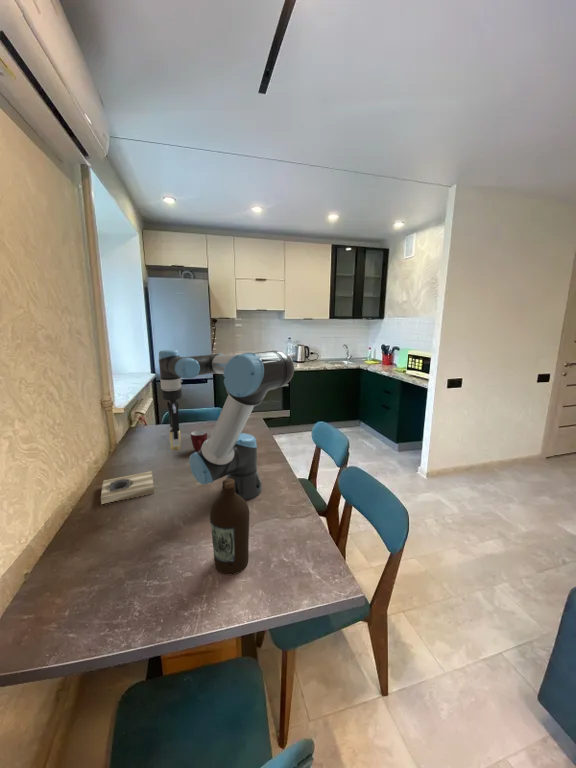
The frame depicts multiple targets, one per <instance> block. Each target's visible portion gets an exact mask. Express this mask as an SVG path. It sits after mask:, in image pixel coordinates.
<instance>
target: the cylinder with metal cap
mask: <svg viewBox="0 0 576 768" xmlns="http://www.w3.org/2000/svg"><path fill="white" fill-rule="evenodd" d="M171 430H172V429H171ZM168 433H169V443H170V450H171V451H174V452H175V451H179V450H181V449H182V443H181V441H182V440H181V430H180V428H179V441H180V446H175V447H173V444H172V432H170V430H169V432H168Z"/></svg>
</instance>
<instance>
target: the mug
mask: <svg viewBox="0 0 576 768" xmlns="http://www.w3.org/2000/svg"><path fill="white" fill-rule="evenodd" d="M190 438H191V439H190V441H191V444H192V447H193V450H194V452H198V451H200V449H201V447H202V444H203V443H204V441H206V440H207V439H208V431H207V430H204V429H201V430H200V429H199V430H198V429H196V430H194V431H191V433H190Z"/></svg>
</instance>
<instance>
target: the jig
mask: <svg viewBox="0 0 576 768" xmlns="http://www.w3.org/2000/svg"><path fill="white" fill-rule="evenodd" d="M153 493H154V494H155V485H154V478H153V471H147V472H146V471H145V472H140V473H135V474H131V475H125V476H120V477H115V478H110V479H104V480H103V481H102V486H101V494H100V502H101V503H100V505H102V504H104V503H109V502H114V501H118V502H120V501H119V500H123V501H125V500H124V499H127V500H130V499H129V498H132V499H135V498H134V497H136V498H139V496H141V497H144V495H145V496H150V495H154V494H153ZM149 494H150V495H149ZM114 503H115V502H114ZM109 504H110V503H109Z"/></svg>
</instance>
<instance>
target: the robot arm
mask: <svg viewBox="0 0 576 768" xmlns="http://www.w3.org/2000/svg"><path fill="white" fill-rule="evenodd" d="M158 364H159V365H158V367H159V377H160V389H161V399H162V400H164V401H167V402H166V406H167V411H168V412H167V413H168V418H169V419H168V422H169V427H170V428H169V431H170V432H172V444H173V447H175V446H180V441H179V429H180V423H179V403H178V400H180V399H182V397H183V395H182V393H183V391H182V389H181V388H182V383H183V380H182V379H185V380H187V379H188V380H189V379H194V378H196V377H197V376H203V375H208V374H211V375H212V374H217V375H223V377H224V379H223V385H224V387H225V389H226V393H227V394H228V395H227V397H226V399H225V402H224V405H223V407H222V408H221V411H220V414H219V416H218V418H217V419H216V423H215V425H214V428H213V430H212V433H211V435H210V437H209V438H207V440H206V441H204V443H203V444H202V447H201V449H200V451H198V452H196V451H194V452H193V453H191V454H190V456H189V459H188V460H189V468H190V471H191V473H192V476H193V477H194V478H195V480H196V482H198V483H199V484H201V485H203V486H204V485H209V484H210V483H211V484H212V483H213V482H215V481H217V480H220V479H222V478H224V477H226V478H225V479H234V481H235V493H236V494H238V495H239V496H241V497H242V498H243V499H244V500H245V501H247V500H250V499H254V498H256V497H257V496H258V495H260V494H261V493H262V480H261V478H260V476H259V472H258V455H257V454H258V453H257V452H258V450H257V449H258V446H257V439H256V437H255V436H254V435H252V434H249V433H244V432H243V430H244V428H245V426H246V423H247V421H248V419H249V417H250V415H251V413H252V411H253V410H254V407H256V406H259V405H261V403H262V402H263V400H264V398H265V397H266V395H267V393H268V392H269V391H271V390H276V389H279V388H283V387H284V386H286V385H288V384H289V382H290V381H291V380H292V378H293V377H294V373H295V365H294V361H293V359H292V358H291V357H290V356H289V355H288V354H287V353H286V352H284V351H281V350H268V351H258V352H244V353H241V354H223V353H213V354H204V355H193V356H191V355H190V356H180V351H179V350H177V349H162V350H159V352H158ZM181 378H182V379H181ZM171 429H172V430H171ZM170 432H169V433H170Z"/></svg>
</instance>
